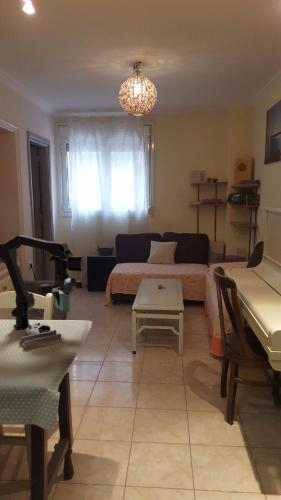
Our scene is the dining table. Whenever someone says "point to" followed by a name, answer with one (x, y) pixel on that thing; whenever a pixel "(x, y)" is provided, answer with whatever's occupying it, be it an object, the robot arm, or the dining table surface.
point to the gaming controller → (37, 328)
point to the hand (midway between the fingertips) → (61, 305)
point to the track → (40, 340)
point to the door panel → (62, 302)
